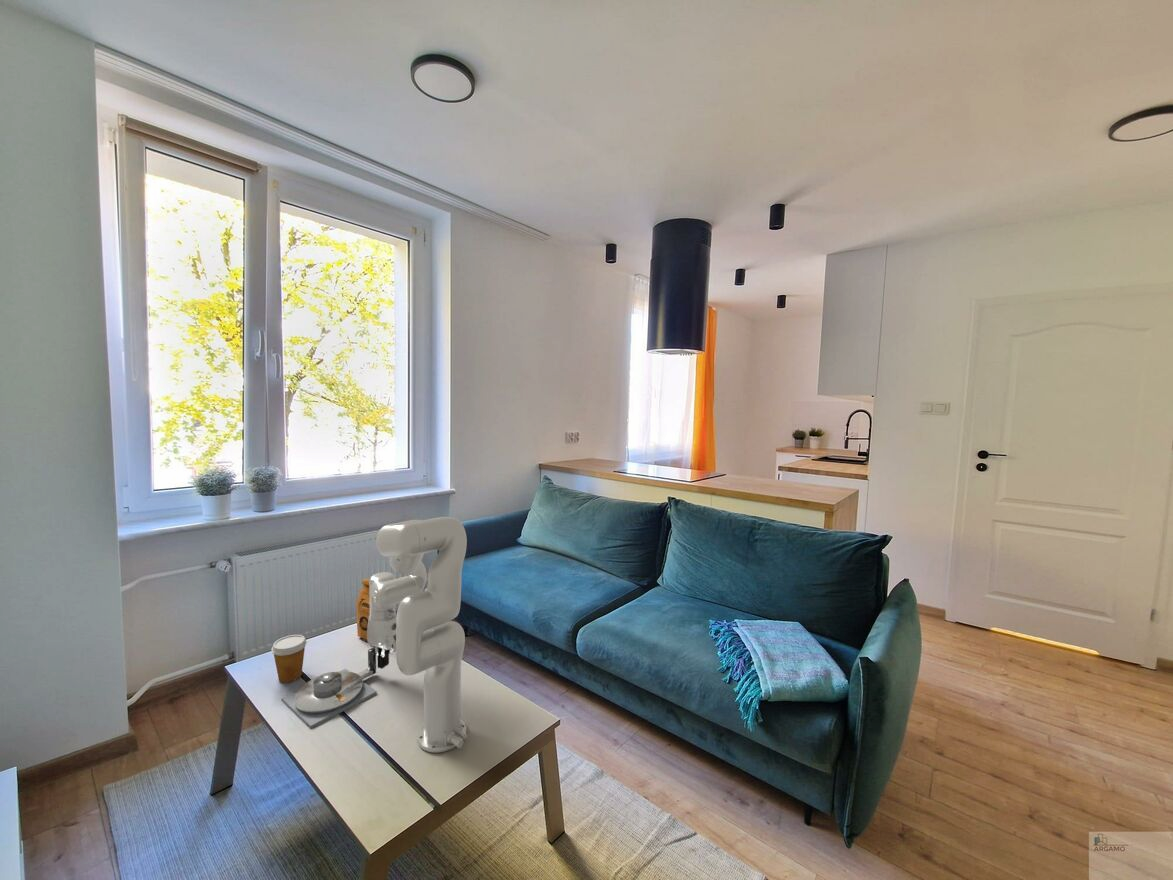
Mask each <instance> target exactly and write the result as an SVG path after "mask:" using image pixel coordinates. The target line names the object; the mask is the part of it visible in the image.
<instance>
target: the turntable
mask: <svg viewBox="0 0 1173 880" xmlns="http://www.w3.org/2000/svg"><path fill="white" fill-rule="evenodd" d="M337 672H338V673H340V674H341V675H342V689H341V691H340V692H339V693H337V694H336V695H334V696H332V697H329V698H322V699H320V698H316V697H315V696H314V692H313V682H314V680H315V679H316V678H317V677H318V676H316V677H315V678H312V679H310V680H308V681H307V682H306V683H303V685H302V686H300V687H299V689H297V690H296V691H297V693H296V694H295V707H296V708H297V709H298V710H299V711H301V712H304V713H310V714H317V713H325V712H329V711H333V710H336V709H338V708H341V707H343V706H345V705H347V704H348V703H350V702H351V701H353V700H354V699H355V698H356V697H357V696H358V695H359V694H360V692H361V690H362V687H363V683H362V681H363V680H364V679H366V678H368V677H370V676H373V675H375V674H377V655H376V652H375V649H374V648H373V647H370V648H369V649H368V650H367V668H366V669H364V670H362V671H360V672H358V673H356V672H352V671H349V672H347V671H342V670H340V672H339V671H337Z"/></svg>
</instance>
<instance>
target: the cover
mask: <svg viewBox="0 0 1173 880" xmlns="http://www.w3.org/2000/svg"><path fill="white" fill-rule="evenodd" d="M338 672H339V671H332V672H331V671H330V672H326V673H323V674H320V675H319V676H316V677H317V678H316V677H315V678H316V679H315V680H314V682H313V692H314V696H315V697H316V698H320V699H322V698H329V697H332V696H334V695H336V694H337V693H339V692H340V691H341V689H342V675H341V674H340V673H338Z"/></svg>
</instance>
